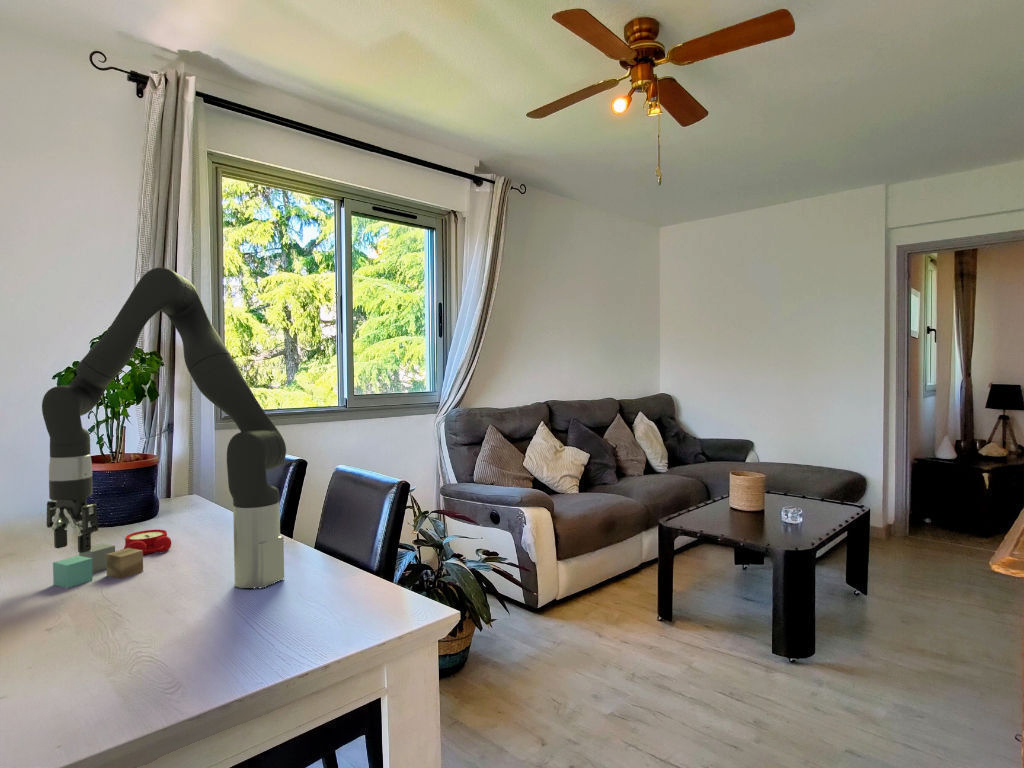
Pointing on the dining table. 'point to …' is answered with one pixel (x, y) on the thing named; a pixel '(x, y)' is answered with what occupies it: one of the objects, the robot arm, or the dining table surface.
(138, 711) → the dining table surface
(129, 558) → the brass block
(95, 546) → the grey-green rectangular block
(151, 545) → the alarm clock
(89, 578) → the teal block
